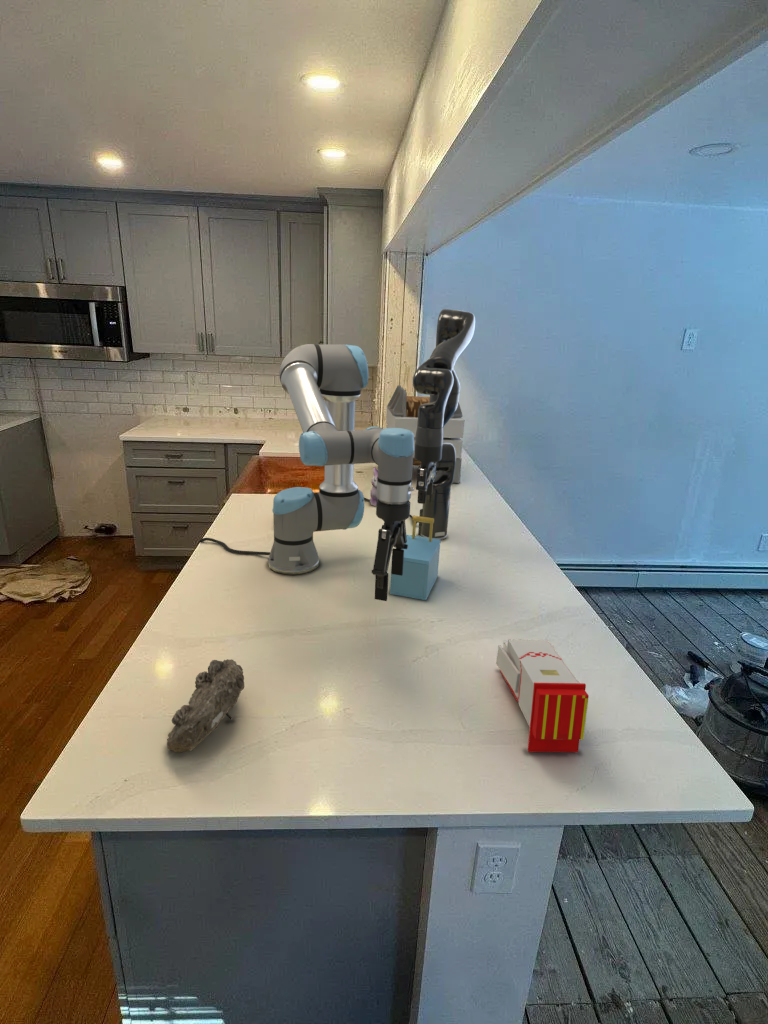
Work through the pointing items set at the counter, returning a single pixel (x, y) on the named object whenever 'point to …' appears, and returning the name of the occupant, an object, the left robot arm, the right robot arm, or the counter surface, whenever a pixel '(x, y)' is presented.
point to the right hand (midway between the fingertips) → (424, 498)
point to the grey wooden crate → (406, 415)
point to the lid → (421, 544)
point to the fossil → (206, 705)
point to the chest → (415, 578)
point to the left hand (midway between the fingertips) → (389, 586)
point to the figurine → (374, 487)
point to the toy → (545, 694)
